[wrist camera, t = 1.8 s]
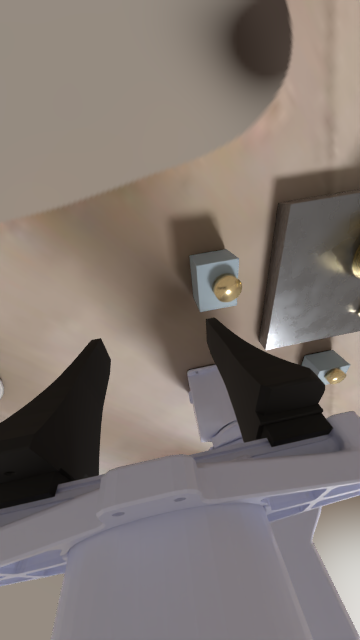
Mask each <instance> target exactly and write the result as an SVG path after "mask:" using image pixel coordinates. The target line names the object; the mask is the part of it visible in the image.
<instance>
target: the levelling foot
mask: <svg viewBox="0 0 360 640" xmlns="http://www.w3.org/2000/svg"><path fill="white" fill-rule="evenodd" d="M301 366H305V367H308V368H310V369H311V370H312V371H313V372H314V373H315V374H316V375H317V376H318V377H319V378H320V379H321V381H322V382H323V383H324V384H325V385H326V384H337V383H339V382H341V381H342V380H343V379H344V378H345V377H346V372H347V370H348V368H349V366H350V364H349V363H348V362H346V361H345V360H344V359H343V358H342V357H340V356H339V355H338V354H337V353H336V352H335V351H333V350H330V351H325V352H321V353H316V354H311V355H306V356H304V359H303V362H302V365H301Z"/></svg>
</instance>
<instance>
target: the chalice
mask: <svg viewBox="0 0 360 640" xmlns="http://www.w3.org/2000/svg"><path fill="white" fill-rule="evenodd" d="M3 394H4V386H3V383H2V381H1V380H0V399H1V398H2V396H3Z"/></svg>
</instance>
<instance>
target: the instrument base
mask: <svg viewBox="0 0 360 640" xmlns="http://www.w3.org/2000/svg"><path fill="white" fill-rule="evenodd" d="M357 331H360V190H354V191H348V192H342V193H336V194H330V195H324V196H318V197H312V198H306V199H300V200H294V201H288V202H281V203H278V209H277V216H276V223H275V230H274V237H273V245H272V252H271V259H270V266H269V273H268V280H267V287H266V294H265V301H264V308H263V315H262V322H261V330H260V337H259V342H260V343H261V345H262V346H263V347H264V349H265V350H268V349H273V348H278V347H283V346H288V345H293V344H298V343H303V342H308V341H313V340H318V339H323V338H328V337H332V336H337V335H342V334H347V333H352V332H357Z"/></svg>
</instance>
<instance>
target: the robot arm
mask: <svg viewBox="0 0 360 640" xmlns="http://www.w3.org/2000/svg"><path fill="white" fill-rule="evenodd" d="M206 333H207V344H208V347H209V350H210V353H211V355H212V357H213V360H214V362H215V364H216V365H212V366H207V367H202V368H197V369H192V370H189V371H187V375H188V381H189V388H190V391H189V392H188V393H189V398H190V403H191V404H193V408H194V413H195V417H196V422H197V427H198V431H199V436H200V440H201V442H212V443H213V447H211V448H210V449H209V451H205V452H201V453H196V454H192V455H183V454H179V455H170V456H166V457H161V458H157V459H152V460H148V461H144V462H139V463H135V464H130V465H126V466H121V467H118V468H115V469H112V470H109V471H108V472H107V473H106V474H103V475H99V450H100V433H101V421H102V411H103V405H104V400H105V395H106V390H107V385H108V381H109V375H110V365H111V359H110V357H109V355H108V353H107V350H106V348H105V346H104V344H103V342H102V340H101V338H100V339H95V340H91V341H90V343H89V344H88V345H87V346H86V347H85V348H84V350H83V351H82V352H81V353H80V354H79V355H78V357H77V358H76V359H75V360H74V361H73V362H72V364H71V365H70V366H69V367H68V368H67V369H66V370H65V371H64V372H63V373H62V374H61V375H60V376H59V377H58V378H57V379H56V380H55V381H54V382H53V383H52V384H51V385H50V386H49V387H48V388H46V389H45V390H44V391H43V392H42V393H40V394H39V395H38V396H37V397H36V398H34V399H33V400H32V401H31V402H29V403H28V404H27V405H25V406H24V407H23V408H21V409H20V410H19V411H17V412H16V413H14V414H13V415H12V416H10V417H9V418H7V419H6V420H4V421H3V422H1V423H0V586H4V585H9V584H14V583H19V582H24V581H28V580H33V579H39V578H43V577H49V576H54V575H59V574H64V573H65V574H64V579H63V584H62V588H61V593H60V599H59V603H58V608H57V613H56V617H55V622H54V627H53V632H52V637H51V640H360V637H359V635H358V633H357V631H356V629H355V627H354V625H353V622H352V620H351V618H350V616H349V614H348V612H347V610H346V608H345V606H344V604H343V602H342V600H341V598H340V596H339V594H338V592H337V590H336V588H335V586H334V584H333V582H332V580H331V578H330V576H329V574H328V572H327V570H326V568H325V565H324V564H323V561H322V559H321V557H320V555H319V553H318V551H317V549H316V547H315V545H314V543H313V541H312V539H313V535H314V532H315V529H316V525H317V522H318V519H319V516H320V513H321V508H322V506H324V505H328V504H331V503H335V502H338V501H341V500H345V499H348V498H352V497H355V496H359V495H360V417H359V416H358V415H357V414H356V413H355V412H354V411H349V412H345V413H340V414H336V415H332V416H330V417H328V418H327V419H326V418H325V417H324V416H323V414H322V412H323V409H322V408H321V407H320V405H319V404H318V403H319V401H320V399H321V397H322V395H323V394H324V391H325V384H324V383H323V382H322V381H321V379H320V378H319V377H318V376H317V375H316V374H315V373H314V372H313V371H312V370H311V369H310V368H308V367H305V366H301V365H298V364H295V363H291V362H288V361H286V360H283V359H280V358H278V357H275V356H273V355H271V354H268V353H266V352H264V351H262V350H260V349H258V348H256V347H254V346H253V345H251V344H249V343H247V342H246V341H244V340H243V339H241V338H240V337H238V336H237V335H236V334H234V333H233V332H232V331H230V330H229V329H228V328H226V327H225V326H224V325H223V324H222V323H220V322H219V321H218V320H217V319H216V318H210V319H206ZM196 371H197V372H196Z"/></svg>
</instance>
